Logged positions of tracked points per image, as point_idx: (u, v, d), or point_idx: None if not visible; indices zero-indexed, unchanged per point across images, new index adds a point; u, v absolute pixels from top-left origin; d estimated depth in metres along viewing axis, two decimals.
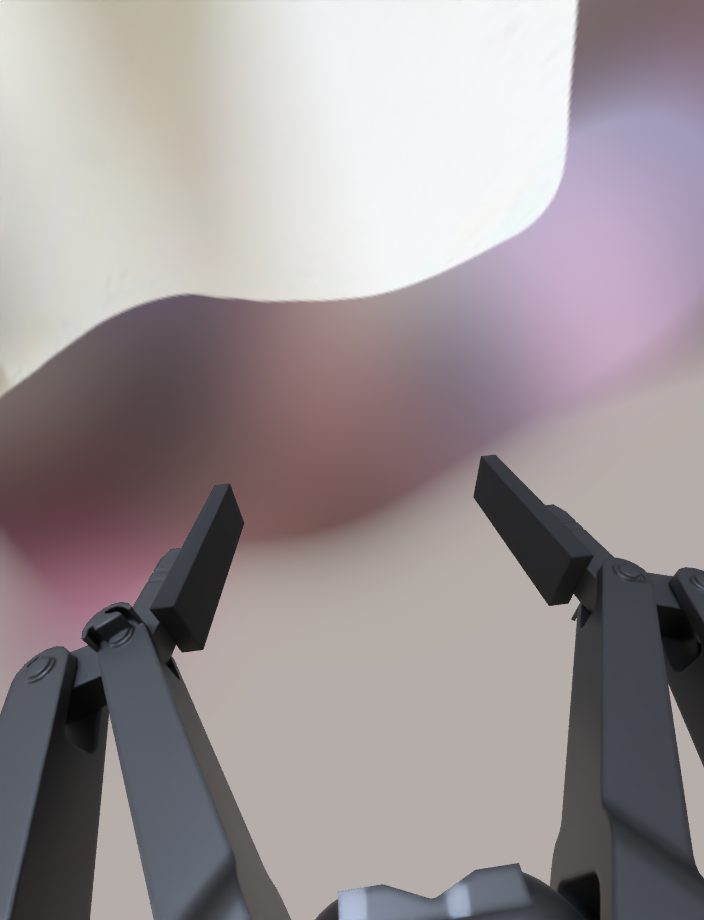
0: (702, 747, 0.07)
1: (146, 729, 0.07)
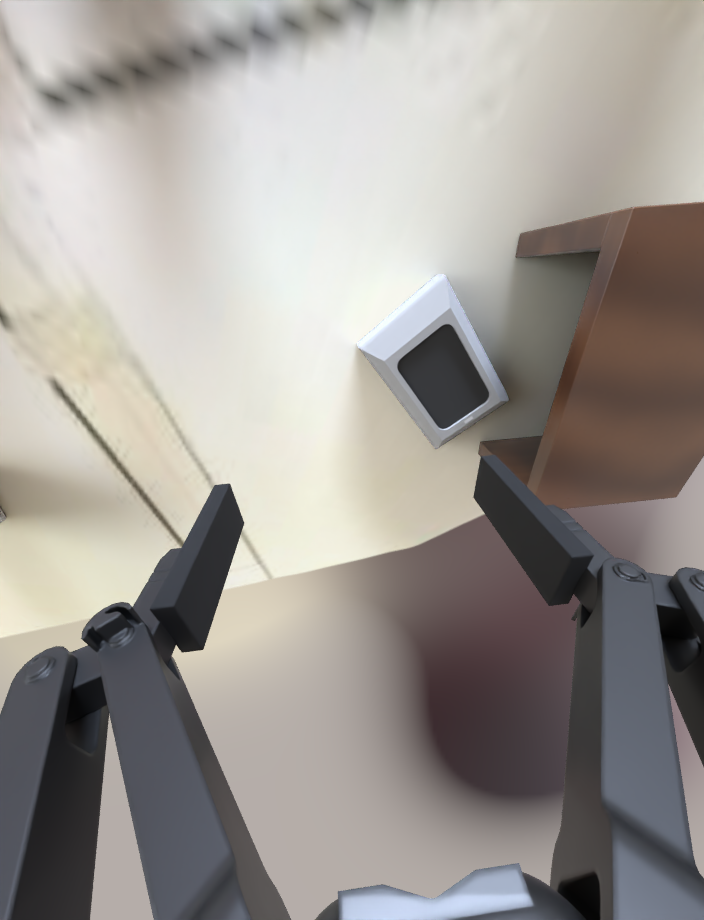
0: (702, 747, 0.07)
1: (146, 729, 0.07)
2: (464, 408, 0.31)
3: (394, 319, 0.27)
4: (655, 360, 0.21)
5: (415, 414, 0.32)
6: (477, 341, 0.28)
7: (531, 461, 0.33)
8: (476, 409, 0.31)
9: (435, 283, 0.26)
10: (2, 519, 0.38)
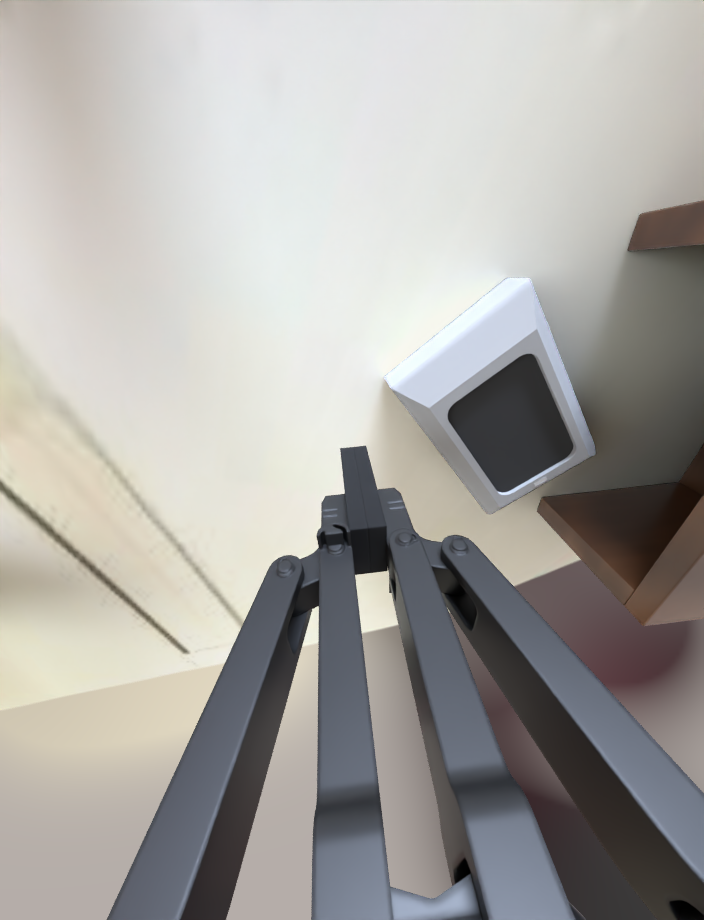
0: (504, 688, 0.09)
1: (338, 630, 0.08)
2: (536, 466, 0.22)
3: (446, 346, 0.18)
4: None
5: (466, 475, 0.22)
6: (566, 376, 0.19)
7: (624, 534, 0.24)
8: (553, 467, 0.22)
9: (513, 291, 0.17)
10: None
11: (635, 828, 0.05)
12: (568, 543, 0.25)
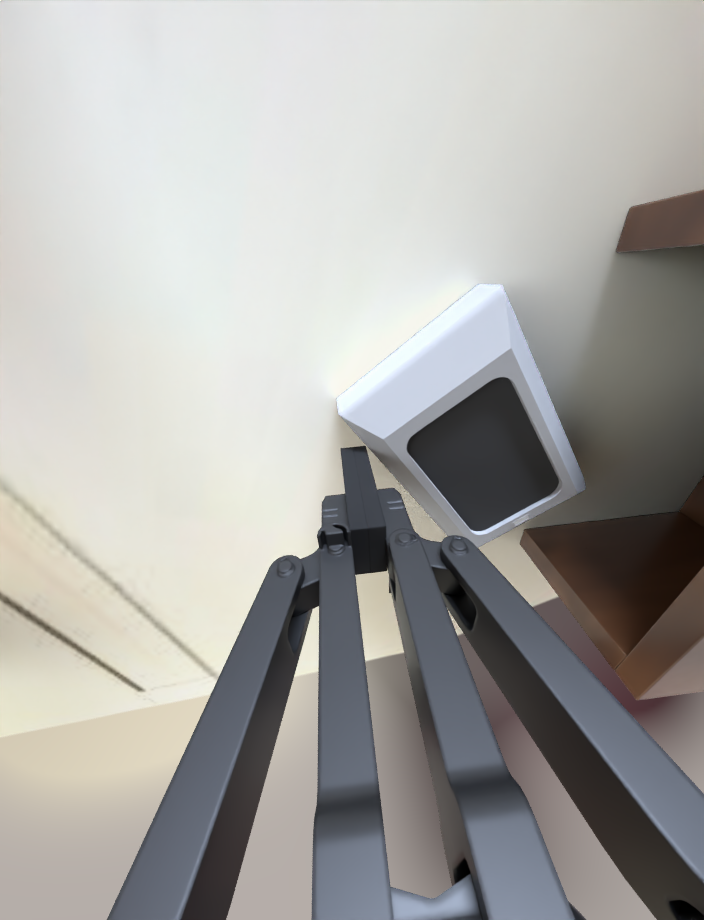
0: (504, 688, 0.09)
1: (338, 630, 0.08)
2: (515, 503, 0.19)
3: (402, 366, 0.15)
4: None
5: (434, 512, 0.19)
6: (549, 402, 0.16)
7: (615, 579, 0.21)
8: (536, 505, 0.19)
9: (482, 301, 0.13)
10: None
11: (635, 828, 0.05)
12: (552, 586, 0.22)
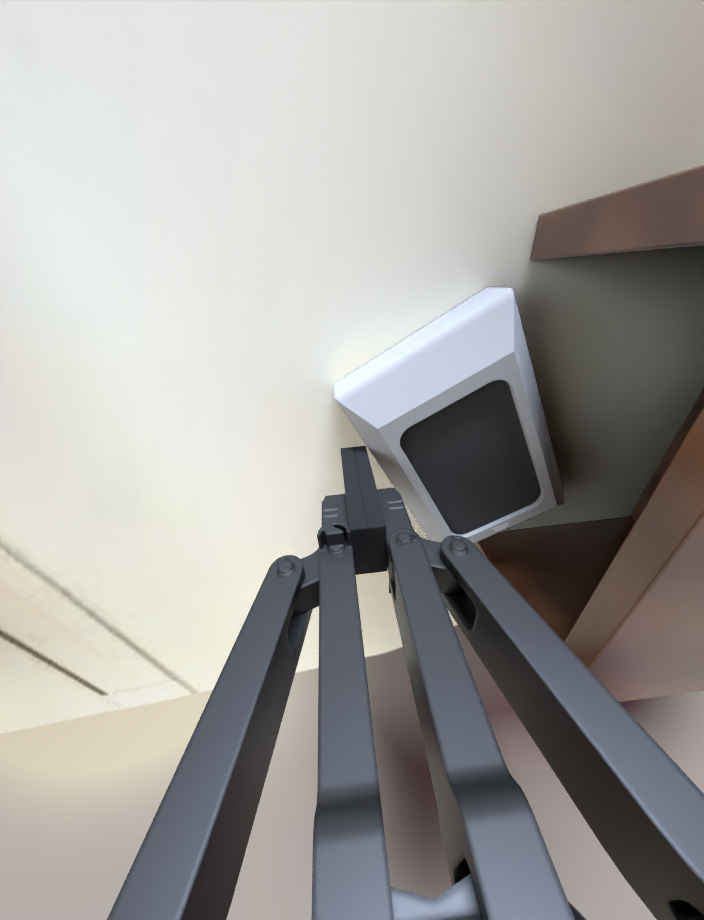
0: (504, 688, 0.09)
1: (338, 630, 0.08)
2: (497, 510, 0.19)
3: (405, 357, 0.14)
4: None
5: (418, 511, 0.19)
6: (541, 412, 0.16)
7: (554, 586, 0.21)
8: (517, 513, 0.19)
9: (491, 302, 0.13)
10: None
11: (634, 827, 0.05)
12: None
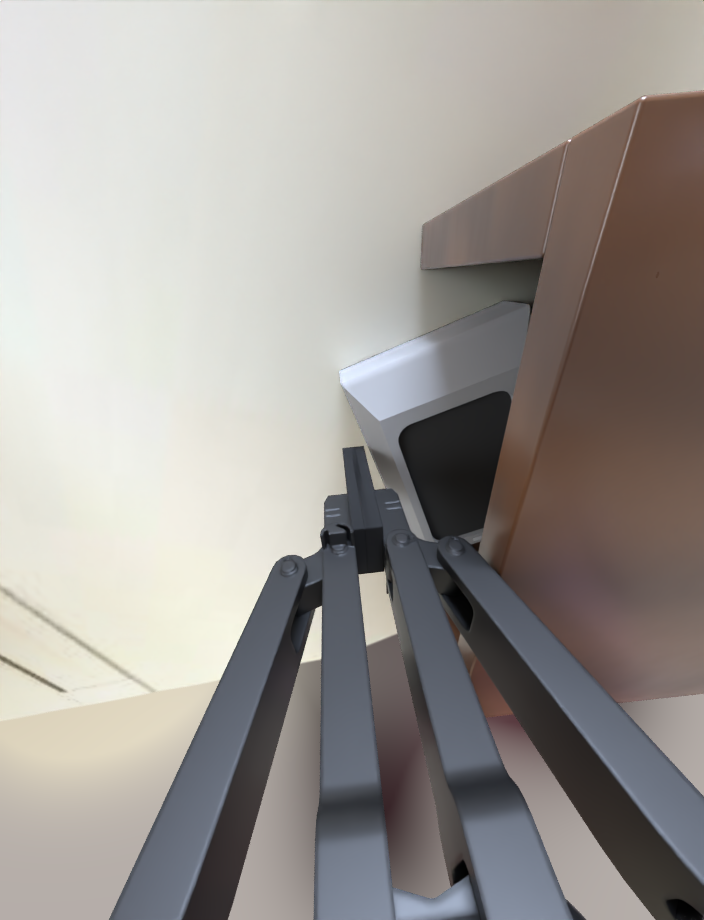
0: (501, 689, 0.09)
1: (341, 629, 0.08)
2: (479, 520, 0.20)
3: (417, 354, 0.14)
4: (698, 525, 0.09)
5: None
6: None
7: None
8: None
9: (507, 314, 0.14)
10: None
11: (632, 827, 0.05)
12: None
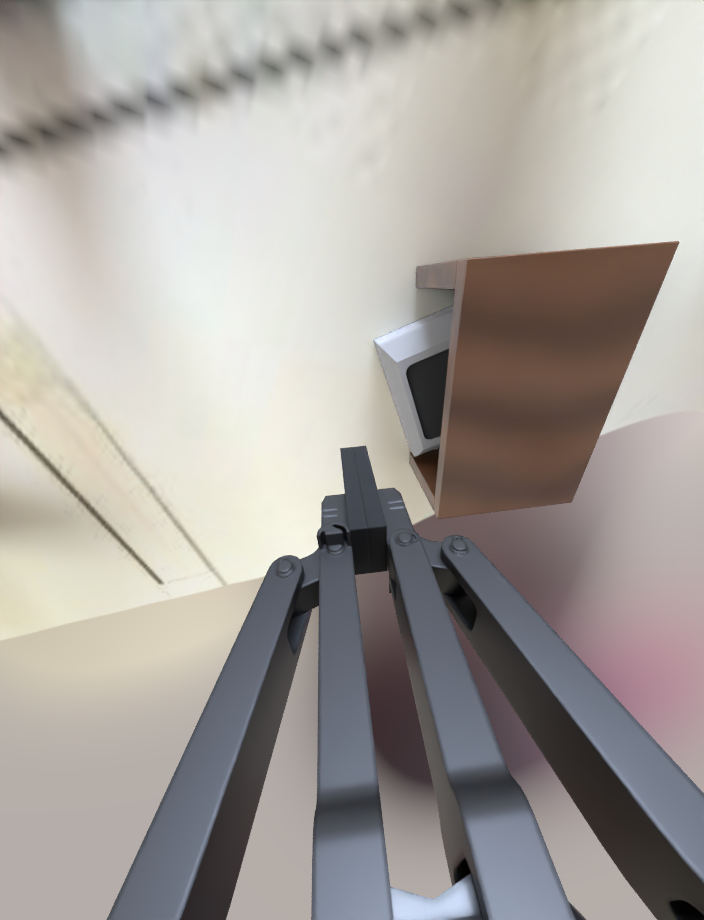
0: (504, 688, 0.09)
1: (338, 630, 0.08)
2: None
3: (415, 328, 0.30)
4: (520, 383, 0.24)
5: (407, 419, 0.34)
6: None
7: None
8: None
9: None
10: None
11: (635, 828, 0.05)
12: (418, 479, 0.37)
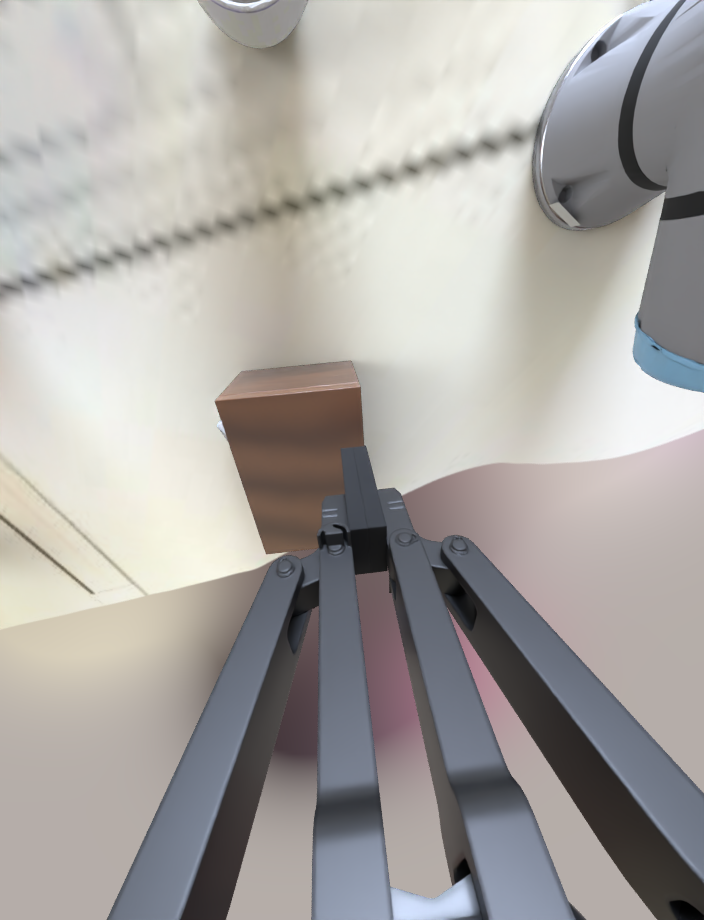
0: (504, 688, 0.09)
1: (338, 630, 0.08)
2: None
3: None
4: (287, 468, 0.35)
5: None
6: None
7: None
8: None
9: None
10: None
11: (635, 828, 0.05)
12: None
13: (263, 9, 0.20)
